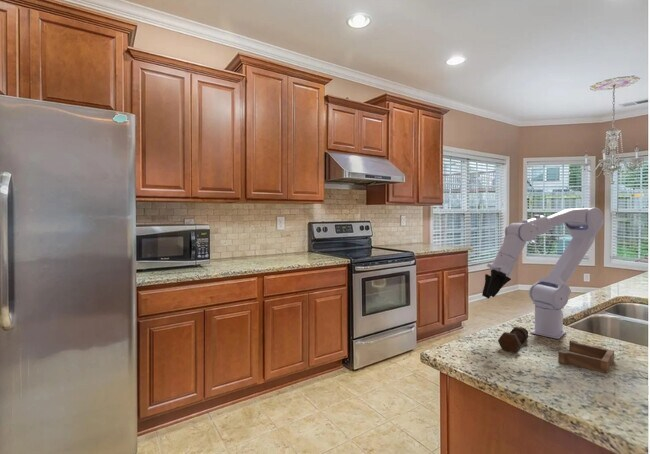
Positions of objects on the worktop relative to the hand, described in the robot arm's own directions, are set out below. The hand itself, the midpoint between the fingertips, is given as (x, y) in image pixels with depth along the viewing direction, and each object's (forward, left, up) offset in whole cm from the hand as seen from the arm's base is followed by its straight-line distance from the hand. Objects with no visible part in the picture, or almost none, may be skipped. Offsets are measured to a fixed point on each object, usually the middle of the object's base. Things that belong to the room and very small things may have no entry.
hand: (487, 296), depth 106 cm
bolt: (-3, +7, -14) cm, 16 cm away
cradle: (-3, +24, -14) cm, 28 cm away
